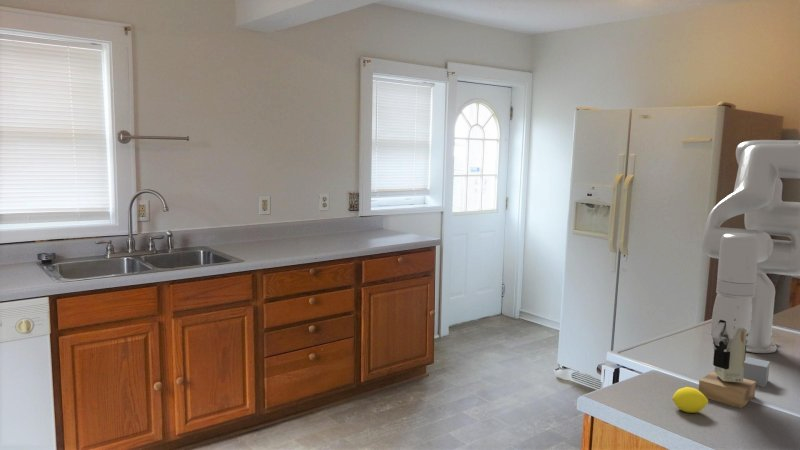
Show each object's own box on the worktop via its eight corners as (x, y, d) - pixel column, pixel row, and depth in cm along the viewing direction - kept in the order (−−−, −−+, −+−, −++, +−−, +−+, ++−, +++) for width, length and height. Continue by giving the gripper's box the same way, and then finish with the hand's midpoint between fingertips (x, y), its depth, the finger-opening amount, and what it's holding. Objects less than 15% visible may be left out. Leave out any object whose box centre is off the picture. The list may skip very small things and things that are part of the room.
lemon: (672, 415, 126) (669, 390, 125) (674, 405, 130) (672, 382, 130) (708, 418, 122) (706, 393, 122) (710, 409, 127) (708, 384, 126)
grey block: (744, 376, 147) (746, 356, 146) (767, 381, 144) (769, 361, 143) (741, 382, 143) (743, 362, 142) (765, 387, 140) (767, 367, 139)
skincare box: (743, 383, 131) (748, 330, 129) (722, 382, 131) (726, 329, 130) (733, 372, 137) (737, 322, 135) (713, 371, 138) (717, 321, 136)
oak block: (712, 386, 141) (713, 370, 140) (754, 398, 134) (755, 381, 134) (698, 396, 135) (699, 380, 134) (741, 409, 128) (742, 392, 128)
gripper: (735, 279, 139) (729, 351, 142) (699, 290, 129) (693, 366, 131) (770, 286, 133) (763, 360, 136) (735, 297, 123) (728, 377, 125)
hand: (729, 362), depth 134 cm, fingers open, 7 cm apart
